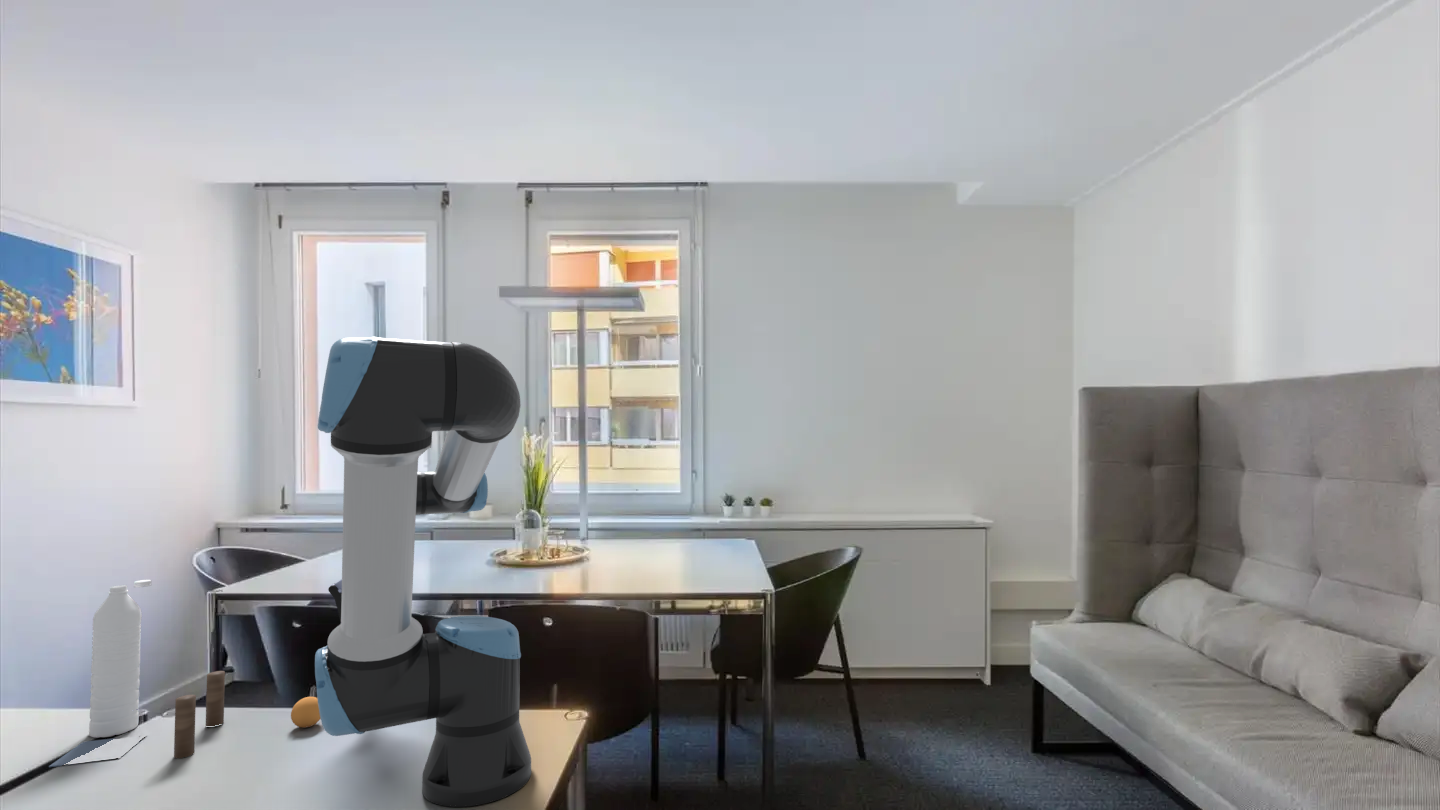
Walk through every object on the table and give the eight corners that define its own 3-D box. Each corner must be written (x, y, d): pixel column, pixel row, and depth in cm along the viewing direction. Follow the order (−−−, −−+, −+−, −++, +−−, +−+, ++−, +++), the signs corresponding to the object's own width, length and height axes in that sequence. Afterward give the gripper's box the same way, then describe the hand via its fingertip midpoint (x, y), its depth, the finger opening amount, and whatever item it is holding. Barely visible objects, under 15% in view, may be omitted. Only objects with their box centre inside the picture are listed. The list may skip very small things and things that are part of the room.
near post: (190, 757, 110) (191, 699, 110) (170, 759, 109) (172, 701, 110) (197, 750, 112) (198, 693, 113) (178, 752, 112) (179, 695, 112)
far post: (220, 726, 121) (221, 674, 122) (203, 728, 121) (204, 676, 121) (226, 721, 124) (227, 670, 124) (209, 723, 123) (210, 671, 124)
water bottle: (109, 739, 117) (114, 590, 118) (78, 737, 118) (83, 589, 119) (160, 719, 125) (164, 580, 126) (130, 716, 126) (134, 579, 128)
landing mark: (119, 758, 109) (119, 757, 109) (48, 767, 107) (48, 766, 107) (147, 735, 118) (147, 734, 118) (82, 743, 115) (82, 741, 115)
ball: (319, 730, 120) (320, 700, 120) (286, 734, 118) (287, 704, 118) (326, 719, 124) (327, 690, 125) (295, 722, 123) (295, 694, 123)
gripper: (411, 538, 131) (409, 664, 130) (334, 542, 127) (332, 671, 126) (405, 545, 124) (403, 678, 123) (324, 549, 120) (321, 686, 119)
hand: (367, 674), depth 125 cm, fingers closed
